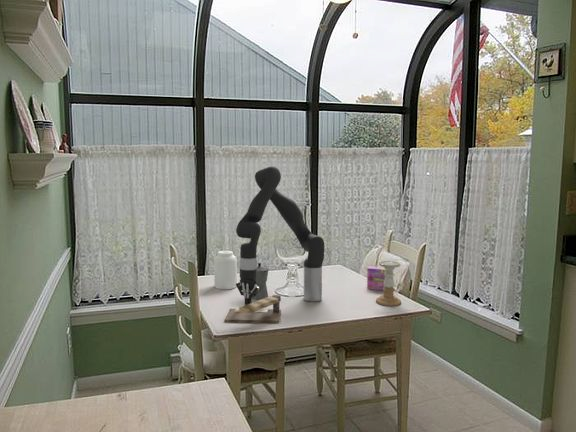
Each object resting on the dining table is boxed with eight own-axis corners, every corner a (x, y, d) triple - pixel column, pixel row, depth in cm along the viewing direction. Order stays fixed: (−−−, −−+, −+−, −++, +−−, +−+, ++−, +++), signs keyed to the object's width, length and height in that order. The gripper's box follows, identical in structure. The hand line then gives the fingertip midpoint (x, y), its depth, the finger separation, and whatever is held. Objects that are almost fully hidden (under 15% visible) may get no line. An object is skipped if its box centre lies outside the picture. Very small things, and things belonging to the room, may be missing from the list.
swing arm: (274, 298, 227) (274, 294, 227) (283, 300, 224) (283, 296, 224) (239, 312, 208) (239, 307, 207) (248, 314, 205) (247, 309, 204)
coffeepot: (274, 298, 248) (274, 264, 246) (258, 301, 243) (257, 266, 241) (258, 291, 261) (258, 258, 259) (243, 294, 256) (243, 260, 254)
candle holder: (382, 307, 236) (384, 266, 233) (371, 299, 248) (372, 261, 245) (405, 305, 239) (407, 265, 237) (393, 298, 251) (395, 259, 248)
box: (366, 288, 268) (367, 267, 266) (369, 286, 273) (369, 265, 271) (385, 290, 264) (386, 269, 262) (387, 288, 269) (388, 267, 268)
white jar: (237, 283, 276) (237, 249, 274) (236, 289, 264) (235, 253, 261) (215, 283, 276) (215, 249, 273) (213, 290, 263) (212, 253, 261)
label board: (280, 312, 228) (280, 299, 227) (279, 323, 213) (279, 309, 212) (230, 311, 229) (229, 298, 228) (224, 322, 214) (224, 308, 213)
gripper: (265, 268, 211) (264, 306, 214) (242, 263, 219) (242, 300, 221) (254, 271, 205) (254, 310, 208) (231, 266, 213) (231, 304, 215)
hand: (247, 305), depth 214 cm, fingers closed
